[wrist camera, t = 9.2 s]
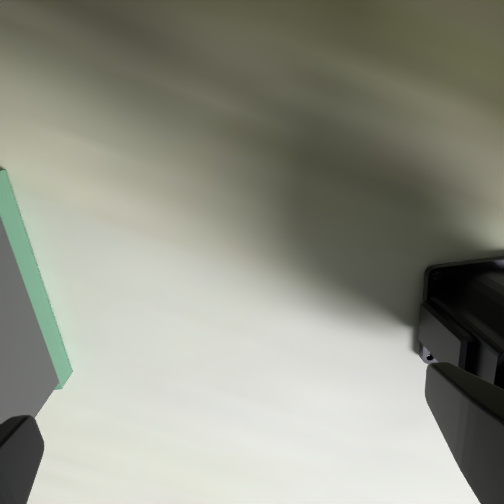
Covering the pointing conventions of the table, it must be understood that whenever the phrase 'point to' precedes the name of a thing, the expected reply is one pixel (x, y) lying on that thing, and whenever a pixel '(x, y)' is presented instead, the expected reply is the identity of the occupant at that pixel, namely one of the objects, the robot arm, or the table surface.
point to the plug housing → (20, 344)
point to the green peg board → (32, 279)
